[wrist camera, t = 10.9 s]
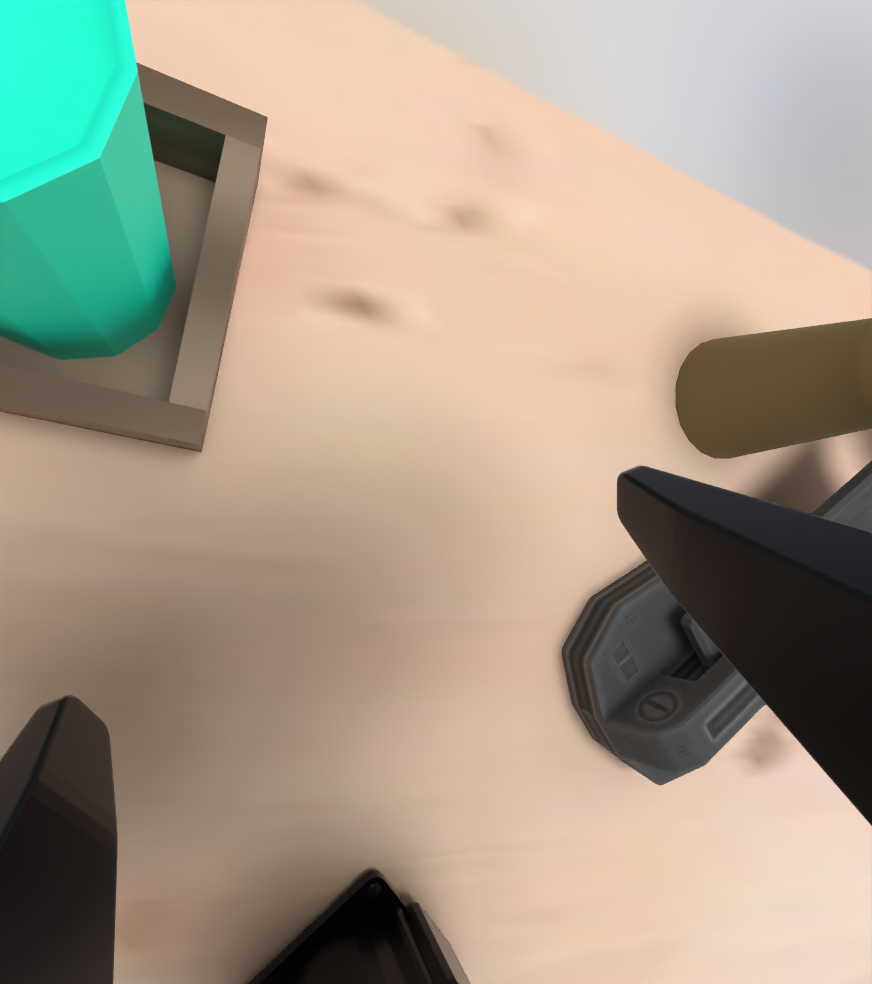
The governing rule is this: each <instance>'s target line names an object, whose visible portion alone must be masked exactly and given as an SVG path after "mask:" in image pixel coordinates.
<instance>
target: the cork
mask: <svg viewBox="0 0 872 984" xmlns="http://www.w3.org/2000/svg"><path fill="white" fill-rule="evenodd" d="M676 408H677V412H678V416H679V420H680V424H681V426H682V428H683V430H684V432H685V434H686V435H687V437H688V439H689V441H690V442H691V443H692V444H693V445H694V446H695V447H696V448H697V449H698V450H700V451H701V452H702V453H704V454H707V455H709V456H711V457H713V458H733V457H738V456H743V455H747V454H752V453H757V452H762V451H766V450H771V449H776V448H781V447H786V446H790V445H795V444H800V443H805V442H809V441H814V440H819V439H824V438H828V437H833V436H838V435H843V434H848V433H852V432H857V431H862V430H867V429H871V428H872V318H871V319H863V320H856V321H848V322H841V323H833V324H826V325H818V326H811V327H803V328H796V329H788V330H780V331H773V332H765V333H758V334H750V335H743V336H735V337H728V338H720V339H714V340H711V341H707V342H704V343H701V344H700V345H699V346H698V347H696V348H695V349H694V350H693V351H692V352H690V353H689V355H688V357H687V358H686V360H685V362H684V363H683V365H682V367H681V369H680V372H679V376H678V380H677V384H676Z"/></svg>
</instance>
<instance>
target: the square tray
mask: <svg viewBox="0 0 872 984" xmlns="http://www.w3.org/2000/svg"><path fill="white" fill-rule="evenodd" d="M136 65H137V70H138V76H139V81H140V87H141V93H142V98H143V104H144V109H145V115H146V120H147V126H148V132H149V137H150V143H151V148H152V154H153V160H154V165H155V171H156V176H157V182H158V188H159V193H160V199H161V204H162V210H163V215H164V221H165V227H166V232H167V238H168V243H169V249H170V255H171V260H172V266H173V271H174V277H175V283H176V289H175V291H174V293H173V296H172V298H171V300H170V303H169V305H168V307H167V310H166V312H165V314H164V317H163V319H162V321H161V324H160V326H159V328H158V329H157V330H156V331H154V332H153V333H151V334H150V335H148V336H147V337H145V338H144V339H142V340H141V341H139V342H138V343H136V344H134V345H133V346H131V347H130V348H128V349H127V350H125V351H124V352H122V353H121V354H119V355H118V356H111V357H97V358H83V359H69V360H59V359H57V358H54V357H52V356H49V355H46V354H44V353H41V352H39V351H36V350H34V349H31V348H29V347H26V346H23V345H21V344H18V343H16V342H13V341H11V340H8V339H6V338H4V337H2V336H1V335H0V411H2V412H7V413H12V414H17V415H22V416H27V417H32V418H37V419H41V420H46V421H51V422H56V423H61V424H66V425H71V426H76V427H81V428H86V429H91V430H96V431H101V432H106V433H111V434H116V435H121V436H126V437H131V438H136V439H140V440H145V441H150V442H155V443H160V444H165V445H170V446H175V447H180V448H185V449H190V450H195V451H200V452H201V451H202V447H203V442H204V437H205V432H206V427H207V423H208V418H209V413H210V408H211V403H212V399H213V394H214V389H215V384H216V380H217V375H218V370H219V365H220V360H221V356H222V351H223V346H224V341H225V336H226V332H227V327H228V322H229V317H230V313H231V308H232V303H233V298H234V293H235V289H236V284H237V279H238V274H239V269H240V265H241V260H242V255H243V250H244V246H245V241H246V236H247V231H248V226H249V222H250V217H251V212H252V207H253V202H254V198H255V193H256V188H257V183H258V178H259V171H260V164H261V158H262V151H263V144H264V138H265V131H266V124H267V118H268V117H266V116H263V115H261V114H259V113H256V112H254V111H251V110H249V109H247V108H244V107H242V106H239V105H237V104H235V103H232V102H230V101H227V100H225V99H223V98H220V97H218V96H215V95H213V94H211V93H208V92H206V91H203V90H201V89H199V88H196V87H194V86H191V85H189V84H187V83H184V82H182V81H179V80H177V79H175V78H172V77H170V76H167V75H165V74H163V73H160V72H158V71H155V70H153V69H151V68H148V67H146V66H143V65H141V64H139V63H136Z"/></svg>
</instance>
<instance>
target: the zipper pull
mask: <svg viewBox="0 0 872 984" xmlns="http://www.w3.org/2000/svg"><path fill="white" fill-rule="evenodd" d="M763 501H767V502H770V503H774V504H777V505H780V506H782V505H781V504H780V503H778V502H777V501H774V500H763ZM811 515H815V516H818V517H822V518H825V519H829V520H832V521H835V522H839V523H842V524H846V525H849V526H853V527H856V528H860V529H863V530H866V531H870V532H872V461H871V462H870V463H869V464H868V465H866V466H865V467H864V468H863V469H862V470H861V471H860V472H858V473H857V474H856V475H855V476H854V477H853V478H852V479H851V480H849V481H848V482H847V483H846V484H845V485H844V486H843V487H841V488H840V489H839V490H838V491H837V492H836V493H835V494H834V495H832V496H831V497H830V498H829V499H828V500H827V501H826V502H824V503H823V504H822V505H821V506H820V507H819V508H818V509H817V510H815V511H814V512H813V513H812V514H811ZM562 655H563V660H564V665H565V670H566V675H567V679H568V684H569V689H570V694H571V698H572V703H573V705H574V707H575V708H576V710H577V712H578V713H579V715H580V717H581V719H582V720H583V722H584V724H585V725H586V727H587V729H588V730H589V732H590V734H591V736H592V737H593V739H594V740H596V741H597V742H598V743H599V744H601V745H602V746H603V747H605V748H606V749H607V750H609V751H610V752H611V753H613V754H614V755H615V756H617V757H618V758H619V759H620V760H622V761H623V762H624V763H626V764H627V765H629V766H630V767H632V768H633V769H635V770H636V771H638V772H639V773H641V774H642V775H644V776H645V777H647V778H648V779H649V780H651V781H652V782H654V783H655V784H658V785H663V784H665V783H668V782H670V781H672V780H674V779H676V778H678V777H681V776H683V775H685V774H687V773H689V772H691V771H693V770H696V769H698V768H700V767H702V766H704V765H706V764H707V763H708V761H709V760H710V759H711V758H712V757H713V756H714V755H715V754H716V753H717V752H718V751H719V750H720V749H721V748H722V747H723V746H724V745H725V744H726V743H727V742H728V741H729V740H730V739H731V738H732V737H733V736H734V735H735V734H736V733H737V732H738V731H739V730H740V729H741V728H742V727H743V726H744V725H745V724H746V723H747V722H748V721H749V720H750V719H751V718H752V717H753V716H754V715H755V714H756V712H757V711H758V710H759V709H761V708H762V707H763V706H764V705H766V703H765V702H764V701H763V700H762V699H761V698H760V696H759V695H758V694H757V693H756V692H755V691H754V689H753V688H752V687H751V686H750V685H749V684H748V682H747V681H746V680H745V679H744V678H743V677H742V676H741V674H740V673H739V672H738V671H737V670H736V669H735V667H734V666H733V665H732V664H731V663H730V662H729V661H728V659H727V658H726V657H725V656H724V655H723V654H722V652H721V651H720V650H719V649H718V648H717V647H716V646H715V644H714V643H713V642H712V641H711V640H710V639H709V637H708V636H707V635H706V634H705V633H704V632H703V631H702V629H701V628H700V627H699V626H698V625H697V624H696V622H695V621H694V620H693V619H692V618H691V617H690V616H689V614H688V613H687V612H686V611H685V610H684V609H683V607H682V606H681V605H680V604H679V603H678V602H677V600H676V599H675V598H674V597H673V596H672V594H671V593H670V592H669V591H668V589H667V588H666V586H665V585H664V584H663V582H662V581H661V580H660V578H659V577H658V575H657V574H656V572H655V571H654V569H653V568H652V567H651V565H650V564H649V562H648V561H646V562H644V563H643V564H641V565H640V566H638V567H637V568H635V569H634V570H632V571H631V572H629V573H628V574H626V575H625V576H623V577H621V578H620V579H618V580H617V581H615V582H614V583H612V584H611V585H609V586H608V587H606V588H604V589H603V590H601V591H600V592H598V593H597V594H595V595H594V596H592V597H591V598H590V599H589V601H588V603H587V605H586V607H585V608H584V610H583V612H582V614H581V616H580V618H579V619H578V621H577V623H576V625H575V627H574V628H573V630H572V632H571V634H570V636H569V638H568V639H567V641H566V643H565V645H564V647H563V649H562Z"/></svg>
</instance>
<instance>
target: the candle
mask: <svg viewBox="0 0 872 984" xmlns="http://www.w3.org/2000/svg"><path fill="white" fill-rule="evenodd" d="M175 289H176V283H175V277H174V271H173V266H172V260H171V255H170V249H169V243H168V238H167V232H166V227H165V221H164V215H163V210H162V204H161V199H160V193H159V188H158V182H157V176H156V171H155V165H154V160H153V154H152V148H151V143H150V137H149V132H148V126H147V120H146V115H145V109H144V104H143V98H142V93H141V87H140V81H139V76H138V70H137V65H136V59H135V53H134V48H133V42H132V37H131V31H130V26H129V20H128V15H127V9H126V3H125V0H0V335H1V336H2V337H4V338H6V339H8V340H11V341H13V342H16V343H18V344H21V345H23V346H26V347H29V348H31V349H34V350H36V351H39V352H41V353H44V354H46V355H49V356H52V357H54V358H57V359H59V360H69V359H83V358H97V357H111V356H118V355H119V354H121V353H122V352H124V351H125V350H127V349H128V348H130V347H131V346H133V345H134V344H136V343H138V342H139V341H141V340H142V339H144V338H145V337H147V336H148V335H150V334H151V333H153V332H154V331H156V330H157V329H158V328H159V326H160V324H161V321H162V319H163V317H164V314H165V312H166V310H167V307H168V305H169V303H170V300H171V298H172V296H173V293H174V291H175Z"/></svg>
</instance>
